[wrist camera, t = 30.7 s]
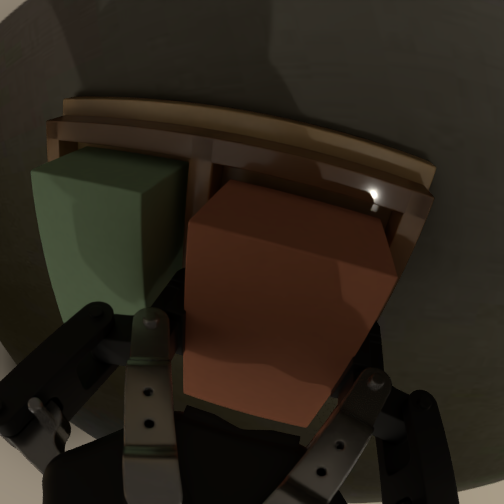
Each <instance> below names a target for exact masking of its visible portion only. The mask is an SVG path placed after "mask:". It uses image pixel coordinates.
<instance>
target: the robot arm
mask: <svg viewBox="0 0 504 504" xmlns="http://www.w3.org/2000/svg"><path fill="white" fill-rule="evenodd" d="M185 268H186V267H184V268H182V269H180V270H179V271H177V272H176V273H175V275H174V276H173V277H172V279H171V280H170V281H169V283H168V284H167V286H166V287H165V288H164V289H163V291H162V292H161V293H160V295H159V296H158V298H157V299H156V300H155V302H154V303H153V304H152V306H151V307H146V308H143V309H140V310H139V311H137V312H136V313H135V315H122V314H114V311H113V308H112V307H111V306H110V305H109V304H107V303H105V302H101V301H96V302H91V303H89V304H87V305H85V306H84V307H83V308H82V309H81V310H79V311H78V312H77V313H76V314H75V315H73V316H72V317H71V318H70V319H69V320H68V321H66V322H65V323H64V324H63V325H62V326H61V327H59V328H58V329H57V330H56V331H55V332H54V333H53V334H51V335H50V336H49V337H48V338H47V339H46V340H45V341H44V342H42V343H41V344H40V345H39V346H38V347H37V348H36V349H35V350H34V351H32V352H31V353H30V354H29V355H28V356H27V357H26V358H25V359H24V360H23V361H21V362H20V363H19V364H18V365H17V366H16V367H15V368H14V369H13V370H12V371H11V372H10V373H9V374H8V375H7V376H6V377H5V378H4V379H2V380H1V381H0V435H1V436H2V437H3V438H4V439H5V440H6V441H7V442H8V443H9V444H10V445H12V446H13V447H15V448H17V450H19V451H20V452H21V453H22V454H23V455H24V456H25V457H26V459H27V460H29V461H30V462H31V464H33V465H34V466H35V467H36V468H37V469H38V470H39V471H40V472H41V473H42V474H43V480H42V486H43V504H347V503H346V501H345V499H344V498H343V496H342V494H341V493H340V491H339V490H338V489H339V488H340V486H341V485H342V483H343V482H344V480H345V479H346V477H347V476H348V474H349V472H350V471H351V469H352V468H353V466H354V465H355V463H356V461H357V460H358V458H359V456H360V455H361V453H362V451H363V450H364V448H365V446H366V444H367V443H368V441H369V439H370V437H371V436H372V435H374V436H375V438H376V446H377V454H378V462H379V471H380V481H381V492H382V504H459V499H458V493H457V487H456V481H455V476H454V471H453V466H452V461H451V457H450V452H449V448H448V443H447V439H446V435H445V431H444V427H443V424H442V420H441V416H440V412H439V409H438V405H437V402H436V400H435V398H434V397H433V396H432V395H431V394H430V393H428V392H427V391H424V390H416V391H414V392H412V393H411V394H410V395H408V394H406V393H404V392H402V391H400V390H398V389H396V388H395V387H393V386H392V381H391V379H390V377H389V376H388V374H387V373H386V372H384V366H383V354H382V345H381V333H380V326H379V324H378V323H377V321H375V323H374V324H373V326H372V328H371V330H370V331H369V333H368V335H367V337H366V338H365V340H364V342H363V343H362V345H361V347H360V349H359V350H358V352H357V353H356V355H355V356H354V357H353V358H352V359H351V361H350V362H349V364H348V366H347V367H346V369H345V370H344V372H343V374H342V375H341V377H340V378H339V380H338V381H337V383H336V384H335V386H334V387H333V389H332V390H331V397H334V398H338V405H337V406H336V408H335V409H334V410H333V412H332V413H331V415H330V416H329V417H328V419H327V420H326V421H325V423H324V424H323V426H322V427H321V428H320V430H319V431H318V432H317V434H316V435H315V436H314V438H313V439H312V440H311V441H310V443H309V444H308V445H307V446H306V447H304V446H302V445H300V444H299V441H300V436H295V435H291V434H286V433H282V432H277V431H273V430H244V429H240V428H238V427H236V426H234V425H232V424H231V423H229V422H227V421H225V420H223V419H222V418H220V417H218V416H216V415H215V414H212V413H209V412H206V411H203V410H200V409H197V408H194V407H191V406H188V405H187V406H186V408H185V411H184V412H181V411H174V405H173V391H172V374H171V360H172V358H173V356H174V354H175V353H177V354H179V355H182V356H183V354H184V352H185V330H186V311H185V310H184V292H185ZM119 365H123V366H126V375H125V397H124V428H123V429H121V430H118V431H116V432H114V433H111V434H109V435H107V436H104V437H102V438H99V439H97V440H94V441H92V442H90V443H87V444H84V445H82V446H79V447H76V448H74V449H71V450H68V451H66V452H65V444H66V441H67V439H68V438H69V436H70V433H71V426H70V423H69V421H70V420H71V418H72V417H73V416H74V415H75V414H76V413H77V412H78V411H79V410H80V408H81V407H82V406H83V405H84V404H85V403H86V402H87V401H88V400H89V398H90V397H91V396H92V395H93V394H94V393H95V392H96V391H97V390H98V388H99V387H100V386H101V385H102V384H103V383H104V382H105V381H106V380H107V379H108V377H109V376H110V375H111V374H112V373H113V372H114V371H115V370H116V369H117V368H118V366H119Z"/></svg>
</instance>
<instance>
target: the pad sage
mask: <svg viewBox="0 0 504 504" xmlns="http://www.w3.org/2000/svg"><path fill="white" fill-rule="evenodd" d="M188 171H189V162H185V161H180V160H174V159H169V158H163V157H157V156H151V155H145V154H139V153H132V152H126V151H119V150H112V149H105V148H97V147H89V146H86V147H84V148H81V149H79V150H76V151H74V152H71V153H69V154H66V155H64V156H62V157H59V158H57V159H55V160H52V161H50V162H48V163H46V164H43V165H41V166H39V167H37V168H35V169H33V170H31V179H32V187H33V195H34V202H35V209H36V215H37V221H38V226H39V232H40V237H41V242H42V246H43V251H44V255H45V260H46V264H47V268H48V272H49V276H50V279H51V283H52V287H53V290H54V294H55V297H56V300H57V304H58V307H59V310H60V313H61V316H62V319H63V322H64V323H65V322H66V321H68V320H69V319H70V318H71V317H72V316H73V315H75V314H76V313H77V312H78V311H79V310H81V309H82V308H83V307H84V306H85V305H87V304H89V303H91V302H96V301H101V302H105V303H107V304H109V305H110V306H111V307H112V308H113V311H114V314H122V315H135V313H136V312H137V311H139V310H140V309H143V308H146V307H151V306H152V304H153V303H154V302H155V300H156V299H157V298H158V296H159V295H160V293H161V292H162V291H163V289H164V288H165V287H166V286H167V284H168V283H169V281H170V280H171V279H172V277H173V276H174V275H175V273H176V272H177V271H179V270H180V269H182V261H183V240H184V223H185V208H186V194H187V182H188Z"/></svg>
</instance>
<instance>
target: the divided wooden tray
mask: <svg viewBox="0 0 504 504" xmlns="http://www.w3.org/2000/svg"><path fill="white" fill-rule="evenodd" d="M46 127H47V154H48V162H50V161H52V160H55V159H57V158H59V157H62V156H64V155H66V154H69V153H71V152H74V151H76V150H79V149H81V148H84V147H86V146H89V147H97V148H105V149H112V150H119V151H126V152H132V153H139V154H145V155H151V156H157V157H163V158H169V159H174V160H180V161H185V162H189V171H188V182H187V194H186V208H185V223H184V240H183V261H182V268H184V267H186V248H187V232H188V222H189V220H190V219H191V218H192V217H193V216H194V215H195V214H196V213H197V212H198V211H199V210H200V209H201V208H202V207H203V206H204V205H205V204H206V203H207V202H208V201H209V200H210V199H211V198H212V197H213V196H214V195H215V194H216V193H217V192H218V191H219V190H220V189H221V188H222V187H223V186H224V185H225V184H226V183H227V182H228V181H229V180H230V179H232V180H236V181H241V182H245V183H249V184H254V185H258V186H262V187H266V188H270V189H274V190H278V191H282V192H286V193H290V194H294V195H298V196H302V197H306V198H309V199H313V200H317V201H320V202H324V203H328V204H331V205H335V206H338V207H342V208H345V209H349V210H352V211H356V212H359V213H363V214H366V215H369V216H373V217H376V218H379V219H381V222H382V226H383V229H384V232H385V235H386V238H387V241H388V245H389V248H390V251H391V255H392V258H393V262H394V265H395V269H396V273H397V276H398V279H397V281H396V283H395V285H394V287H393V289H392V291H391V293H390V295H389V296H388V298H387V300H386V302H385V304H384V306H383V308H382V310H381V312H380V313H379V315H378V317H377V319H376V321H378V319H379V317H380V315H381V313H382V312H383V310H384V308H385V306H386V304H387V302H388V300H389V298H390V297H391V295H392V293H393V291H394V289H395V287H396V285H397V283H398V281H399V279H400V277H401V275H402V273H403V271H404V268H405V266H406V264H407V262H408V260H409V258H410V256H411V253H412V251H413V249H414V247H415V245H416V242H417V240H418V238H419V235H420V233H421V231H422V228H423V226H424V224H425V221H426V219H427V216H428V214H429V211H430V209H431V206H432V203H433V201H434V197H433V195H432V194H431V193H430V192H429V188H430V185H431V182H432V180H433V177H434V174H435V171H436V167H435V166H434V165H433V164H432V163H431V162H429V161H427V160H424V159H422V158H419V157H416V156H414V155H411V154H408V153H406V152H403V151H400V150H397V149H394V148H391V147H388V146H385V145H382V144H379V143H376V142H373V141H370V140H367V139H363V138H360V137H357V136H353V135H350V134H347V133H343V132H339V131H336V130H332V129H328V128H325V127H321V126H317V125H313V124H309V123H305V122H300V121H296V120H292V119H287V118H282V117H278V116H273V115H268V114H263V113H258V112H252V111H246V110H241V109H235V108H228V107H222V106H215V105H208V104H200V103H192V102H183V101H173V100H161V99H148V98H131V97H96V96H84V97H71V98H66V99H64V100H63V116H61V117H57V118H54V119H50V120H47V121H46Z"/></svg>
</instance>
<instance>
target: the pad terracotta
mask: <svg viewBox="0 0 504 504" xmlns="http://www.w3.org/2000/svg"><path fill="white" fill-rule="evenodd" d="M397 279H398V276H397V273H396V269H395V265H394V262H393V258H392V255H391V251H390V248H389V245H388V241H387V238H386V235H385V232H384V229H383V226H382V222H381V219H379V218H376V217H373V216H369V215H366V214H363V213H359V212H356V211H352V210H349V209H345V208H342V207H338V206H335V205H331V204H328V203H324V202H320V201H317V200H313V199H309V198H306V197H302V196H298V195H294V194H290V193H286V192H282V191H278V190H274V189H270V188H266V187H262V186H258V185H254V184H249V183H245V182H241V181H236V180H232V179H230V180H229V181H228V182H227V183H226V184H225V185H224V186H223V187H222V188H221V189H220V190H219V191H218V192H217V193H216V194H215V195H214V196H213V197H212V198H211V199H210V200H209V201H208V202H207V203H206V204H205V205H204V206H203V207H202V208H201V209H200V210H199V211H198V212H197V213H196V214H195V215H194V216H193V217H192V218H191V219H190V220H189V222H188V232H187V248H186V268H185V292H184V310H185V311H186V330H185V352H184V354H183V382H184V393H185V394H188V395H190V396H193V397H196V398H199V399H202V400H205V401H208V402H211V403H214V404H217V405H220V406H224V407H227V408H230V409H234V410H237V411H240V412H244V413H248V414H251V415H255V416H259V417H263V418H266V419H270V420H274V421H279V422H283V423H287V424H292V425H296V426H301V427H307V426H308V425H309V424H310V422H311V421H312V419H313V418H314V417H315V415H316V414H317V413H318V411H319V410H320V408H321V407H322V406H323V404H324V403H325V401H326V400H327V398H328V397H329V395H330V394H331V390H332V389H333V387H334V386H335V384H336V383H337V381H338V380H339V378H340V377H341V375H342V374H343V372H344V370H345V369H346V367H347V366H348V364H349V362H350V361H351V359H352V358H353V357H354V356H355V355H356V353H357V352H358V350H359V349H360V347H361V345H362V343H363V342H364V340H365V338H366V337H367V335H368V333H369V331H370V330H371V328H372V326H373V324H374V323H375V321H376V319H377V317H378V315H379V313H380V312H381V310H382V308H383V306H384V304H385V302H386V300H387V298H388V296H389V295H390V293H391V291H392V289H393V287H394V285H395V283H396V281H397Z"/></svg>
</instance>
